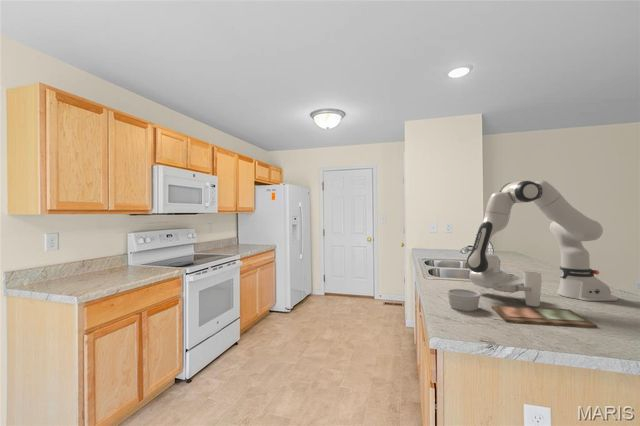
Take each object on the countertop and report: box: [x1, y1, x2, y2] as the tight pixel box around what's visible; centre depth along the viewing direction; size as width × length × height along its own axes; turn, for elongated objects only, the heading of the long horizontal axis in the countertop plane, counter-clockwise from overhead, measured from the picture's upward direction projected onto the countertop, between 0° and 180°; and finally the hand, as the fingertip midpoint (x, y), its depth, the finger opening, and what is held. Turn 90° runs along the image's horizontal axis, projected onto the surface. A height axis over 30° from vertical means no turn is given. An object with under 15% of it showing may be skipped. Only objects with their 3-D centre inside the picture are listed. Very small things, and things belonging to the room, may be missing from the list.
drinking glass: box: [522, 270, 543, 308], centre depth 137 cm, size 7×7×15 cm
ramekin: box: [447, 288, 481, 312], centre depth 136 cm, size 13×13×7 cm
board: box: [491, 305, 598, 329], centre depth 122 cm, size 30×18×1 cm, turn 76°
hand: (534, 288), depth 136 cm, fingers closed on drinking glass, 6 cm apart
